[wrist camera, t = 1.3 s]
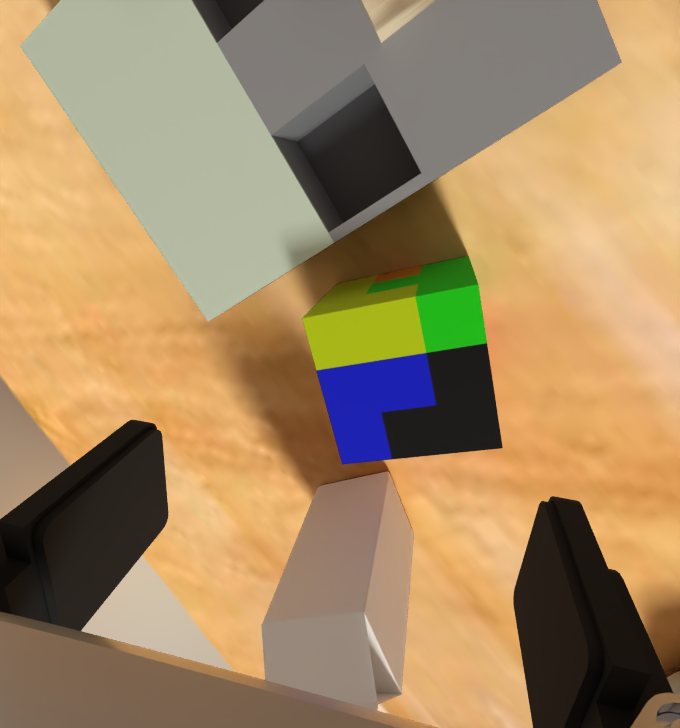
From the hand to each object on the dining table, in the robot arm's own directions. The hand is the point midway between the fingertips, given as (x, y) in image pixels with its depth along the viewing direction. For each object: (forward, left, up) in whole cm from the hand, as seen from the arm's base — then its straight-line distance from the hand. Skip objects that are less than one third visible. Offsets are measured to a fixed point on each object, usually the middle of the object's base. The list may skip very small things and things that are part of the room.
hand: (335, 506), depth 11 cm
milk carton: (+14, +17, -27) cm, 34 cm away
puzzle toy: (+2, +4, -27) cm, 27 cm away
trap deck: (-1, -15, -26) cm, 30 cm away
